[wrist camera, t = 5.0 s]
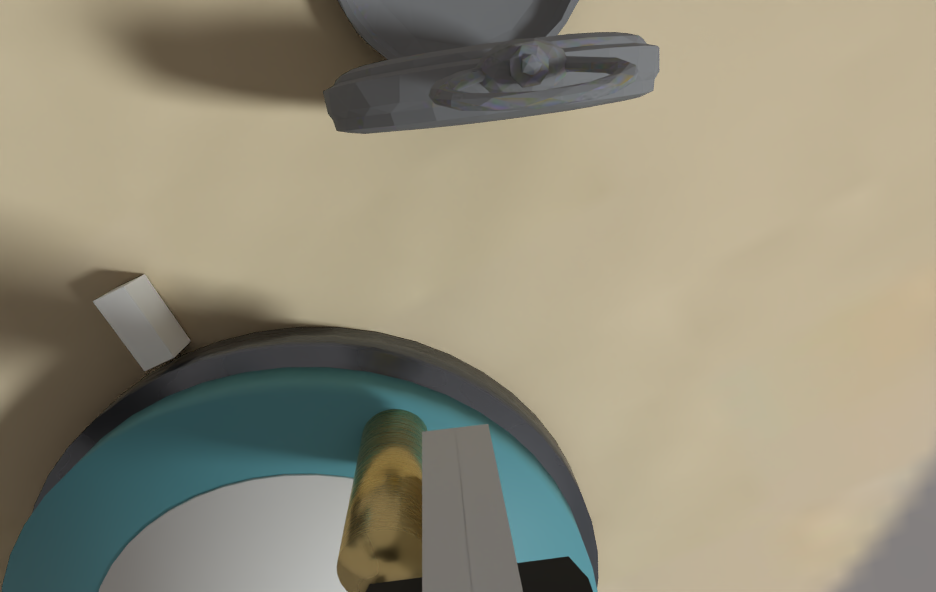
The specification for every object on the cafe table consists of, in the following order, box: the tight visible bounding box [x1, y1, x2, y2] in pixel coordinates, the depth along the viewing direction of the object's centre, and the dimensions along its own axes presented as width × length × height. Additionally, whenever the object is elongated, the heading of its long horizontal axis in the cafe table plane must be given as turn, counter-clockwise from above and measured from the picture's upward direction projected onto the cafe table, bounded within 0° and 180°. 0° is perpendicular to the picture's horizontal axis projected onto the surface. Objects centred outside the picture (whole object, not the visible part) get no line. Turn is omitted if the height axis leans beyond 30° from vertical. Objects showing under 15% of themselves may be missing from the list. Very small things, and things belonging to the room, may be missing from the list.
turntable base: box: [33, 274, 598, 587], centre depth 19 cm, size 22×19×2 cm
